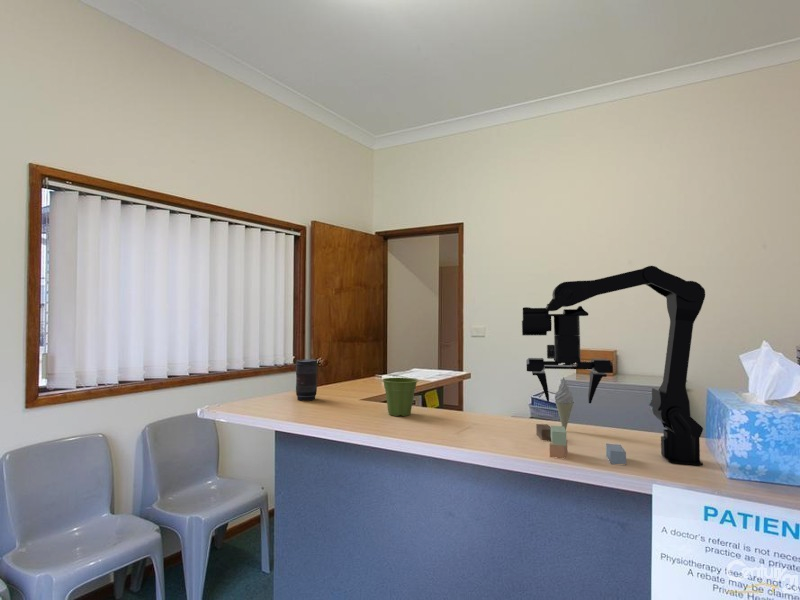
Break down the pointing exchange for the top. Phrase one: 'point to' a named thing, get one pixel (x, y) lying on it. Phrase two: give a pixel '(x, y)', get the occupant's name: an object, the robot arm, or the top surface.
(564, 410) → the ice cream cone
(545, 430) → the walnut brick
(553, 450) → the terracotta brick
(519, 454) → the top surface
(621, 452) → the slate brick
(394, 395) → the plant pot
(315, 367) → the camera lens
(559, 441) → the green brick
